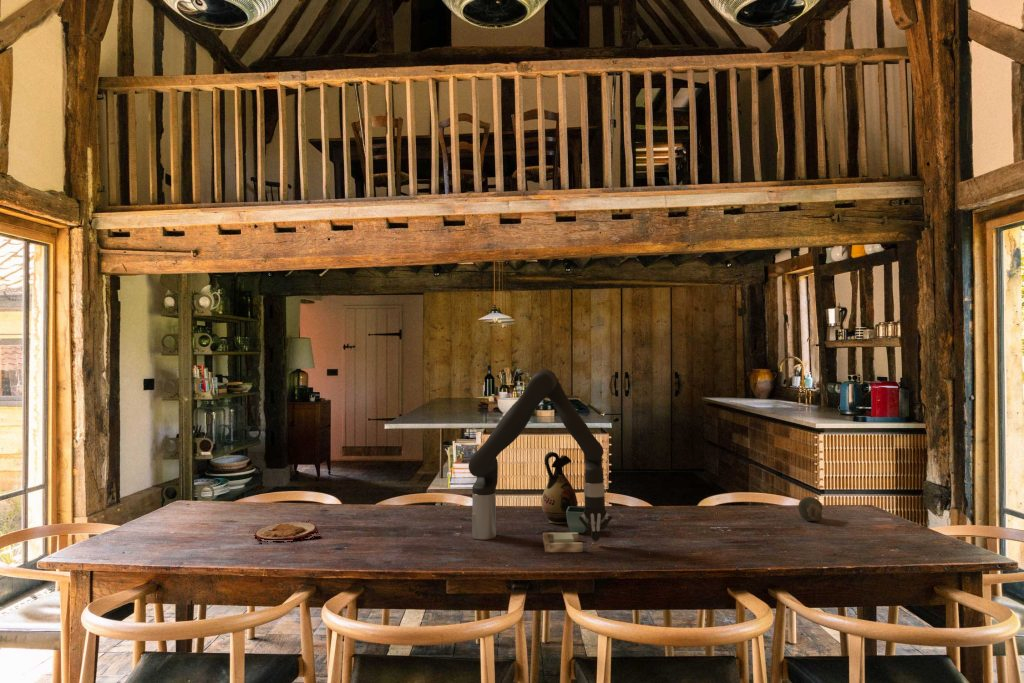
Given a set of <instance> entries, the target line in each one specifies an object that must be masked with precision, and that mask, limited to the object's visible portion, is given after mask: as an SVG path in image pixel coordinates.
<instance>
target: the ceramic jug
mask: <svg viewBox="0 0 1024 683" xmlns="http://www.w3.org/2000/svg"><path fill="white" fill-rule="evenodd" d="M550 458H555V459H554V461H553V462H552V464H551V466H550ZM570 463H572V459H570V457H568V455H564V454H562V455H561V456H560V455H559V454H558V453H557V452H554V451H549V452H547V453H546V454H545V456H544V466H545V469H546V472H547V474H548V483H547V484H546V486H545V488H544V491H543V492H542V493H543V494H542V496H541V510H542V512H543V513H544V515H545V516H546V517H547V519H548V522H549V523H550V524H558V525H568V523H567V515H566V511H567V509H568V507H578V498H577V494H576V491H575V489H574V487H573V486H572V484H571V483H570V481H569V479H568V478H567V477H566V475H565V473H564V470H563V468H564V467H565V466H566V465H568V464H570ZM551 468H554V472H552V469H551Z"/></svg>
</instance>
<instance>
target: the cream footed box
mask: <svg viewBox="0 0 1024 683" xmlns="http://www.w3.org/2000/svg"><path fill="white" fill-rule="evenodd" d="M552 533H553V542H552V543H566V542H574V539H573V536H572V534H571V532H552Z"/></svg>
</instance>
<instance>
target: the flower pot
mask: <svg viewBox="0 0 1024 683" xmlns="http://www.w3.org/2000/svg"><path fill="white" fill-rule="evenodd" d="M584 509H585V506H577V507H568V509H567V511H566V515H567V523H568V524H567V526H568V528H569V532H570V533H571V532H578V534H580V533H581V534H584V533H585V532H586V530H587V528H586V527H585V526H584V524H583V523H582V522H581V521H580V519H579V518H578V516H579V515H581V514H583V513H584V512H583V511H584ZM585 521H586V522H587V524H588V525H589V520H588V518H587V517H586V516H585Z"/></svg>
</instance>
